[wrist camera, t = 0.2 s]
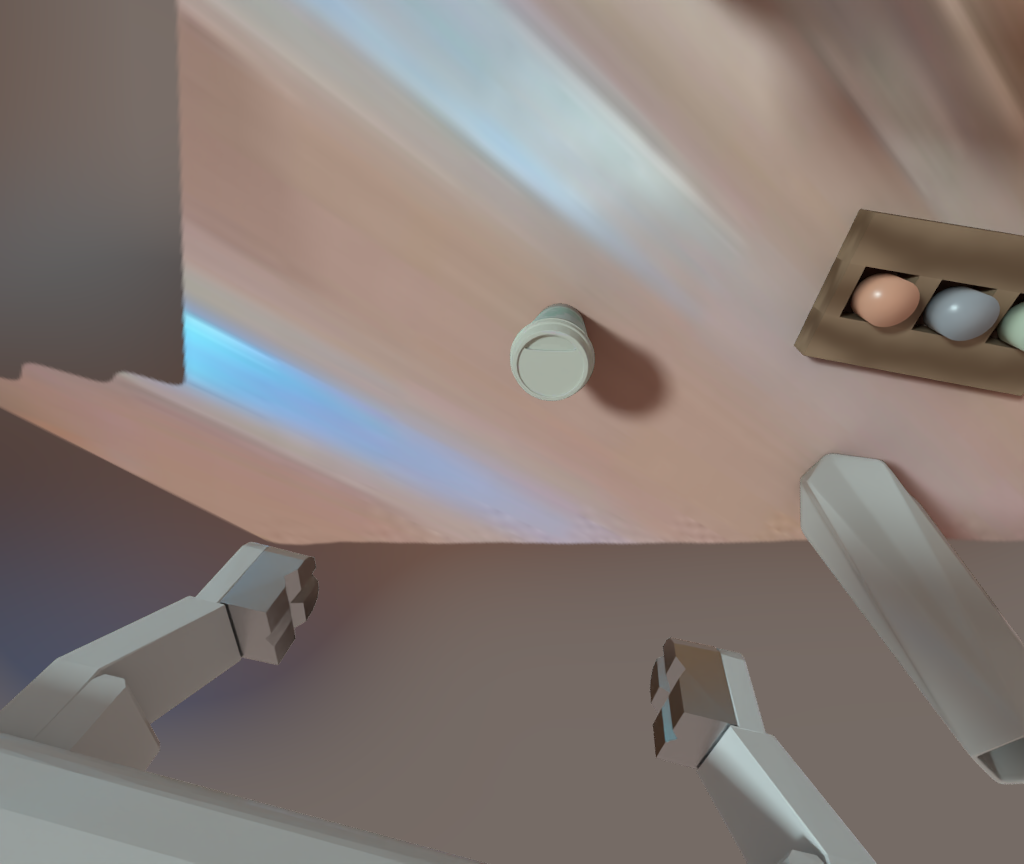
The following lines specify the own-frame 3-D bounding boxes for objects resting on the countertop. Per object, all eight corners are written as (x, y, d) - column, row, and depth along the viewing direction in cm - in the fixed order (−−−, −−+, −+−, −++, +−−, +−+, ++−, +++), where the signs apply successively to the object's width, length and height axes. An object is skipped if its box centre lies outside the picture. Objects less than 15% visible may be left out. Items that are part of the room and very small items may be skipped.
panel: (859, 209, 45) (875, 212, 43) (1104, 249, 44) (1135, 255, 41) (793, 345, 53) (803, 355, 50) (1000, 383, 51) (1021, 396, 48)
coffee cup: (611, 317, 54) (612, 356, 44) (569, 373, 59) (562, 420, 49) (548, 276, 53) (535, 306, 43) (511, 337, 58) (491, 377, 47)
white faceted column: (912, 444, 56) (1216, 736, 28) (863, 517, 62) (1073, 815, 34) (807, 426, 57) (1000, 689, 29) (769, 499, 63) (898, 774, 35)
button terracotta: (864, 269, 45) (880, 276, 43) (912, 277, 45) (930, 284, 43) (841, 313, 48) (855, 322, 45) (886, 321, 47) (902, 331, 45)
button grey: (940, 282, 45) (960, 290, 42) (988, 290, 45) (1011, 298, 42) (913, 326, 47) (930, 336, 45) (958, 334, 47) (979, 344, 44)
